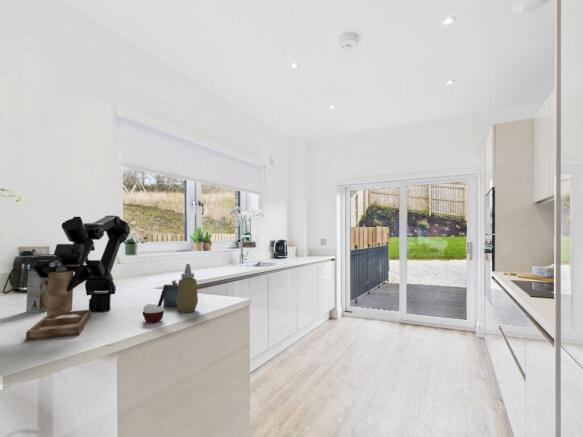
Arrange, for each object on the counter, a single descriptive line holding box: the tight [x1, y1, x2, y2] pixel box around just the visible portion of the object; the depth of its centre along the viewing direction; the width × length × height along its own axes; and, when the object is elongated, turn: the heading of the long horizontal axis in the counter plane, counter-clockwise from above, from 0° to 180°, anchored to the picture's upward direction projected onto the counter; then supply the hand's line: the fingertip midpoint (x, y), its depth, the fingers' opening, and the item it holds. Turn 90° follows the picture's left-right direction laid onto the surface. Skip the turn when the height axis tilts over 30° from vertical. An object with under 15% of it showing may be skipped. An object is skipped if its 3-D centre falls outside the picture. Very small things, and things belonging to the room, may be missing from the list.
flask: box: [162, 280, 178, 309], centre depth 127 cm, size 9×3×11 cm, turn 71°
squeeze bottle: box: [176, 263, 199, 314], centre depth 120 cm, size 8×8×18 cm
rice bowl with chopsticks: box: [142, 285, 168, 324], centre depth 104 cm, size 10×6×12 cm, turn 48°
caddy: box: [25, 309, 92, 342], centre depth 97 cm, size 12×23×2 cm, turn 26°
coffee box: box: [25, 268, 48, 313], centre depth 121 cm, size 9×6×16 cm
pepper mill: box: [46, 266, 75, 315], centre depth 94 cm, size 5×5×14 cm
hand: (58, 291), depth 92 cm, fingers closed on pepper mill, 5 cm apart
